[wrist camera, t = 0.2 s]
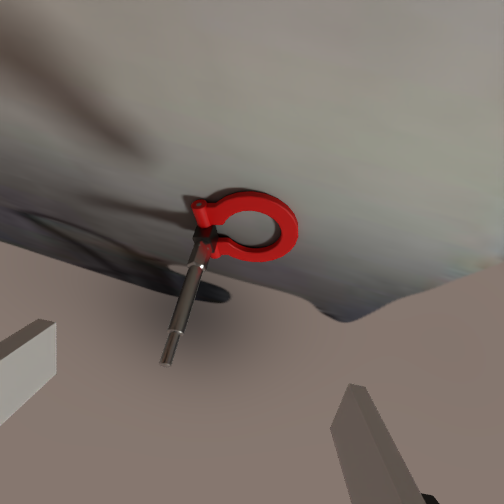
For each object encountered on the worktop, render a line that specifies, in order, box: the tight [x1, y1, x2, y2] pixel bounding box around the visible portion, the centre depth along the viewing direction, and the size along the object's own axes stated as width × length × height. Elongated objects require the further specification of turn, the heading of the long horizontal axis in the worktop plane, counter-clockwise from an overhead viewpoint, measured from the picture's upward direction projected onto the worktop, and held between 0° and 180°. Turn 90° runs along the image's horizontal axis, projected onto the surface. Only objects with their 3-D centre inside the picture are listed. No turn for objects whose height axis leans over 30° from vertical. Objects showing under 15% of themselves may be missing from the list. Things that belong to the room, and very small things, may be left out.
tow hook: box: [159, 191, 298, 367], centre depth 20 cm, size 9×14×10 cm
